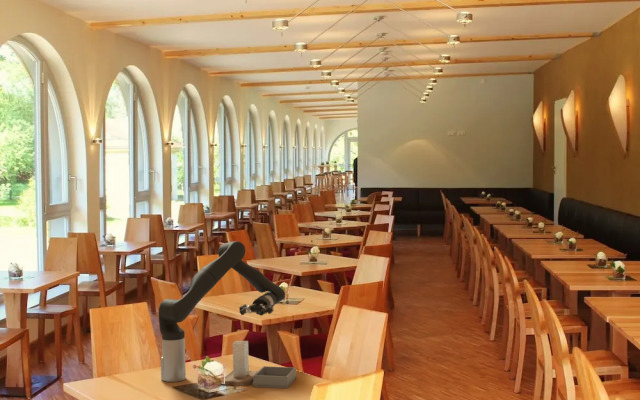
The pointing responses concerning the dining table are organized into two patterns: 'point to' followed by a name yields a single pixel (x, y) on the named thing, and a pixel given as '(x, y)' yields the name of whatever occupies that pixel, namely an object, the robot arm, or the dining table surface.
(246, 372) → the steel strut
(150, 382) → the dining table surface
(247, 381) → the stud block
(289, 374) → the grey tray
